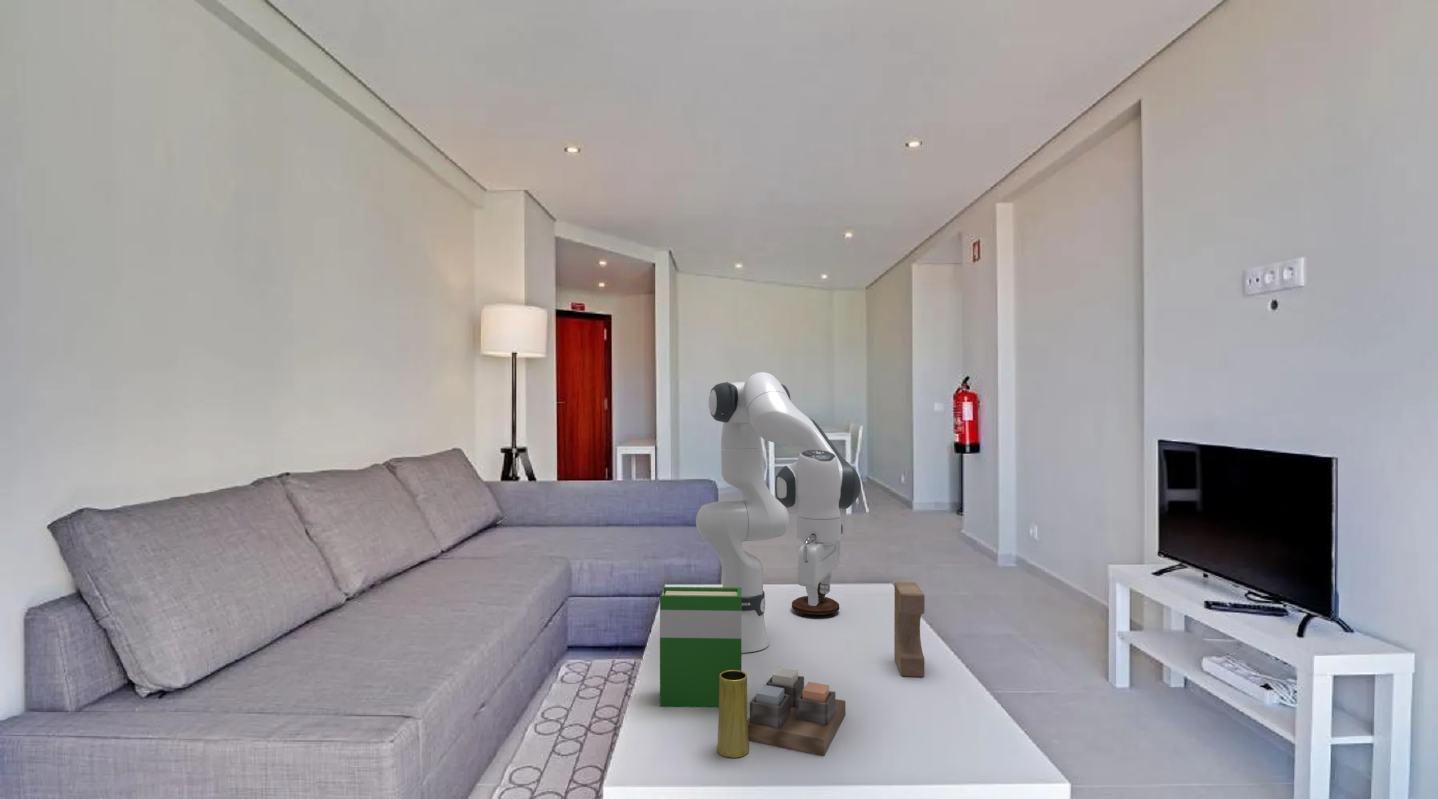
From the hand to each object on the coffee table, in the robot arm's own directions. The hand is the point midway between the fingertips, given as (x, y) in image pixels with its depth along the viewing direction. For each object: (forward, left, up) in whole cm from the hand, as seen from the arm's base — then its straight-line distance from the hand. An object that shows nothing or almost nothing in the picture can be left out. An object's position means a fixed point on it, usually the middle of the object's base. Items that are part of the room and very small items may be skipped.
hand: (819, 598), depth 140 cm
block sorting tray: (-4, -2, -26) cm, 27 cm away
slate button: (-8, -7, -21) cm, 23 cm away
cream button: (-8, +3, -21) cm, 22 cm away
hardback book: (-27, +2, -26) cm, 38 cm away
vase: (-13, -15, -26) cm, 33 cm away
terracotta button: (0, -2, -21) cm, 21 cm away
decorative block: (+13, +38, -26) cm, 48 cm away
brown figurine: (-20, +73, -26) cm, 81 cm away
